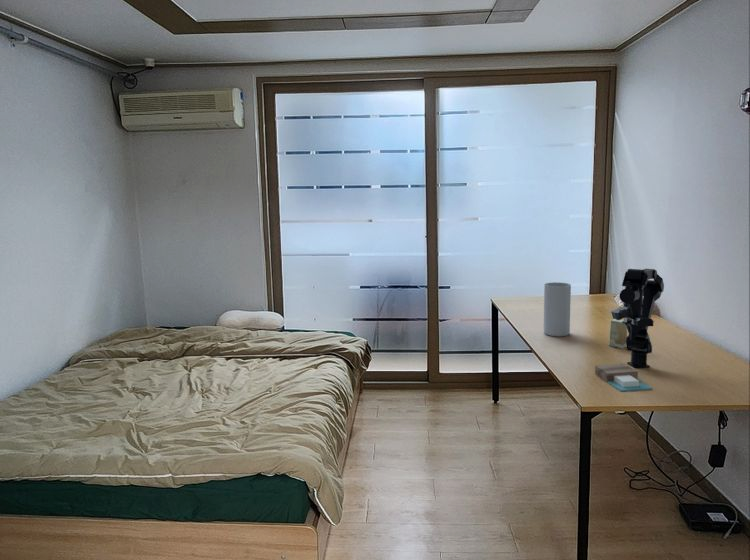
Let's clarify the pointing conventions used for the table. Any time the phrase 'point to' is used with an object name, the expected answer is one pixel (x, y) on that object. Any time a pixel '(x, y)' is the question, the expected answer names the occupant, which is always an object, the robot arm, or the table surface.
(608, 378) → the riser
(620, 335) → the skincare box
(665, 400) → the table surface
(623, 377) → the tile
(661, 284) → the robot arm
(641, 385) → the mat
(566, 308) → the cylinder vase
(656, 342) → the table surface
